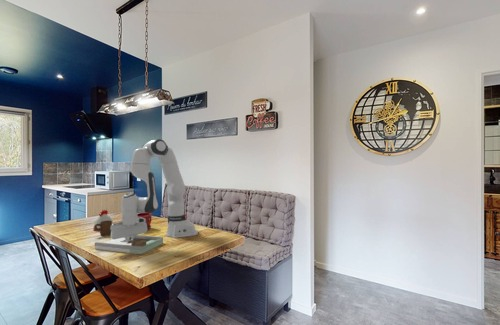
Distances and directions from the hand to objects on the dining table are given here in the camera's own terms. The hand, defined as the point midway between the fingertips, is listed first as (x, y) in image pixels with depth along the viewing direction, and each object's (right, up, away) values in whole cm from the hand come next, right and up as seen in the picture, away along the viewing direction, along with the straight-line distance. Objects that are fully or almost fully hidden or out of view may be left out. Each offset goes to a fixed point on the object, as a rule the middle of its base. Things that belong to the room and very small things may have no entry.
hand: (129, 243), depth 149 cm
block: (+7, -1, -3) cm, 7 cm away
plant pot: (-12, -4, +46) cm, 47 cm away
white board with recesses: (-3, -4, +5) cm, 7 cm away
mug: (-34, -4, +30) cm, 46 cm away
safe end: (+10, -3, +2) cm, 11 cm away
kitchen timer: (-45, -5, +48) cm, 66 cm away
